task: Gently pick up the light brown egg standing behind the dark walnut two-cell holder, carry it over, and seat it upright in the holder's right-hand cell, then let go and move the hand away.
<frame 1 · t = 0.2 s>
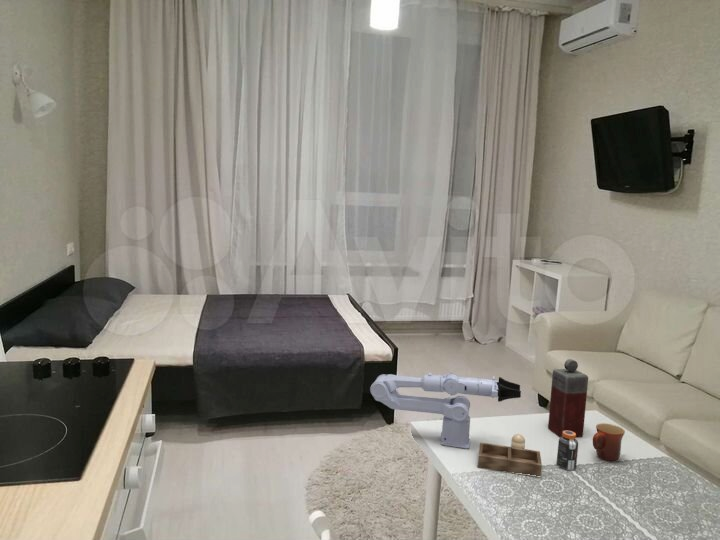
hand: (520, 391, 177), 21 cm above the table, tool horizontal, fingers open, 7 cm apart
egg: (517, 450, 180), on the table
mug: (604, 459, 177), on the table
red grey square bottle: (563, 431, 198), on the table
walnut holder: (508, 465, 169), on the table
pill bottle: (566, 466, 170), on the table
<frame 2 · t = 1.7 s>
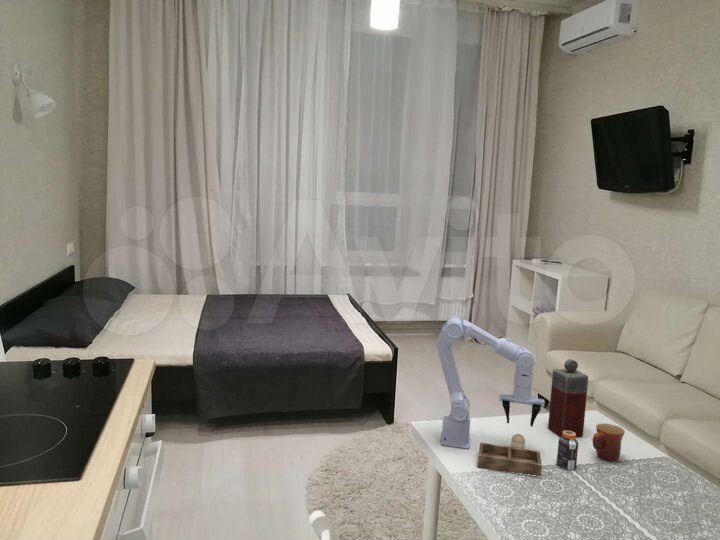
hand: (519, 423, 179), 10 cm above the table, tool pointing down, fingers open, 7 cm apart
nothing on the table moved.
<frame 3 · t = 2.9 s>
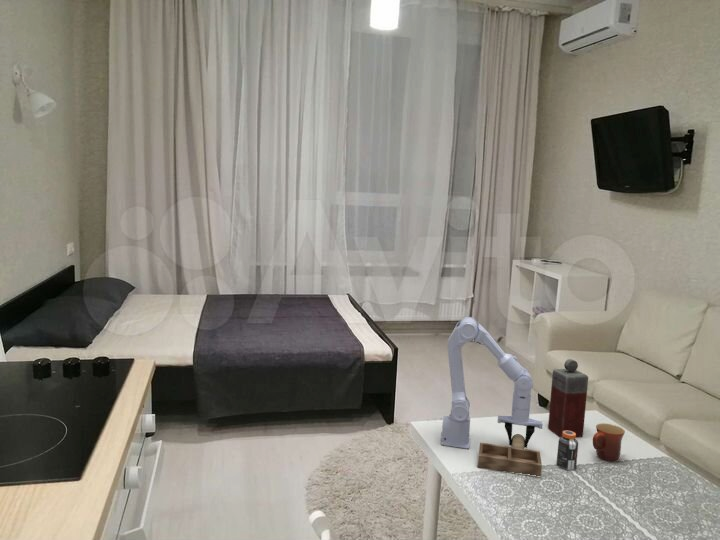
hand: (517, 445, 180), 2 cm above the table, tool pointing down, fingers closed on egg, 4 cm apart
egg: (517, 450, 180), on the table, touching gripper
everything else where it was.
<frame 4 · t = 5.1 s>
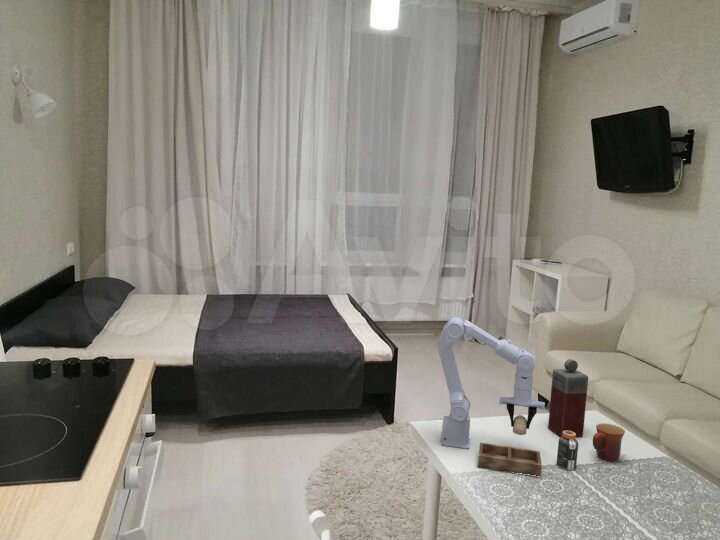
hand: (519, 426, 178), 9 cm above the table, tool pointing down, fingers closed on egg, 4 cm apart
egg: (519, 432, 178), point 7 cm above the table, touching gripper
everything else where it was.
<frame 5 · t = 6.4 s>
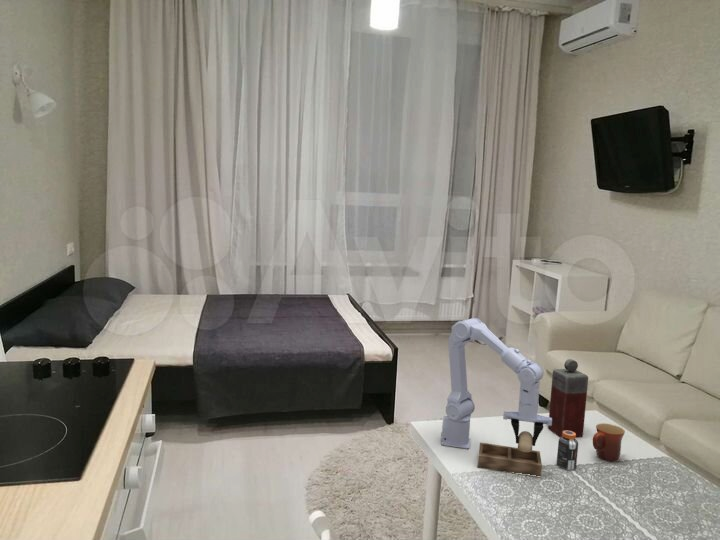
hand: (525, 443, 167), 8 cm above the table, tool pointing down, fingers closed on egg, 4 cm apart
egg: (524, 449, 167), point 6 cm above the table, touching gripper
everything else where it was.
when the fingers open (4 cm above the table, at t = 7.6 s): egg drops 1 cm, resting on walnut holder.
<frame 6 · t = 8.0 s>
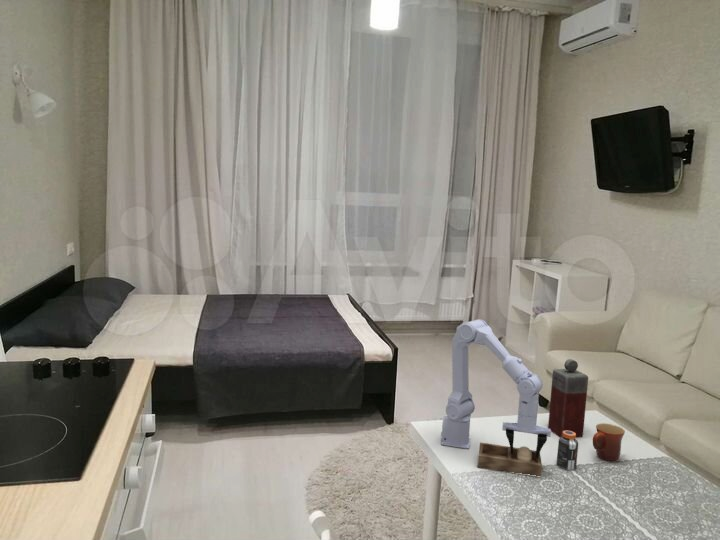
hand: (524, 454, 167), 4 cm above the table, tool pointing down, fingers open, 7 cm apart
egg: (523, 464, 168), point 1 cm above the table, touching walnut holder
everything else where it was.
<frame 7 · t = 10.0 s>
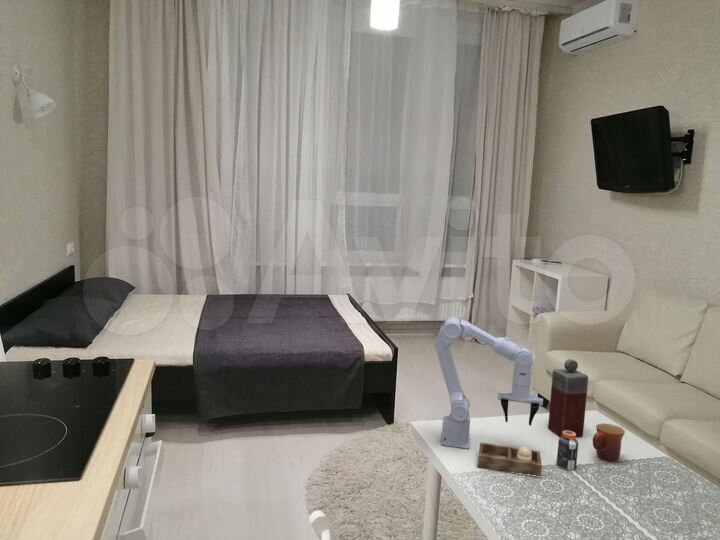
hand: (518, 422, 179), 10 cm above the table, tool pointing down, fingers open, 7 cm apart
nothing on the table moved.
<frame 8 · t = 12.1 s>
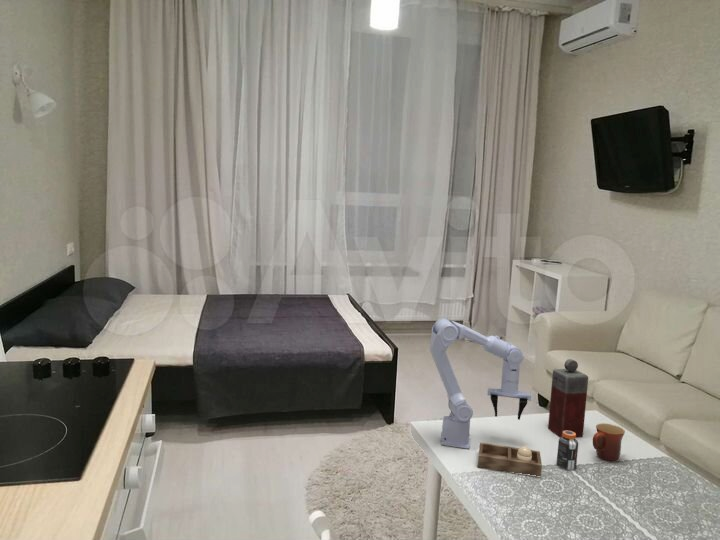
hand: (507, 417, 185), 9 cm above the table, tool pointing down, fingers open, 7 cm apart
nothing on the table moved.
at the end: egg 0.0 cm from the target spot on the walnut holder, point 1.0 cm above the walnut holder's base; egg tilted 1°; the gripper is holding nothing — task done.
